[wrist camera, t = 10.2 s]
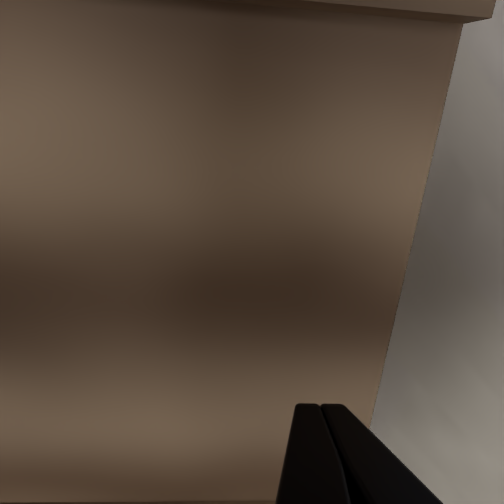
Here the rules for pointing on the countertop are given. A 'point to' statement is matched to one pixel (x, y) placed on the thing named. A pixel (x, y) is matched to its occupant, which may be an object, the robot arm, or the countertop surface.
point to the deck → (202, 231)
